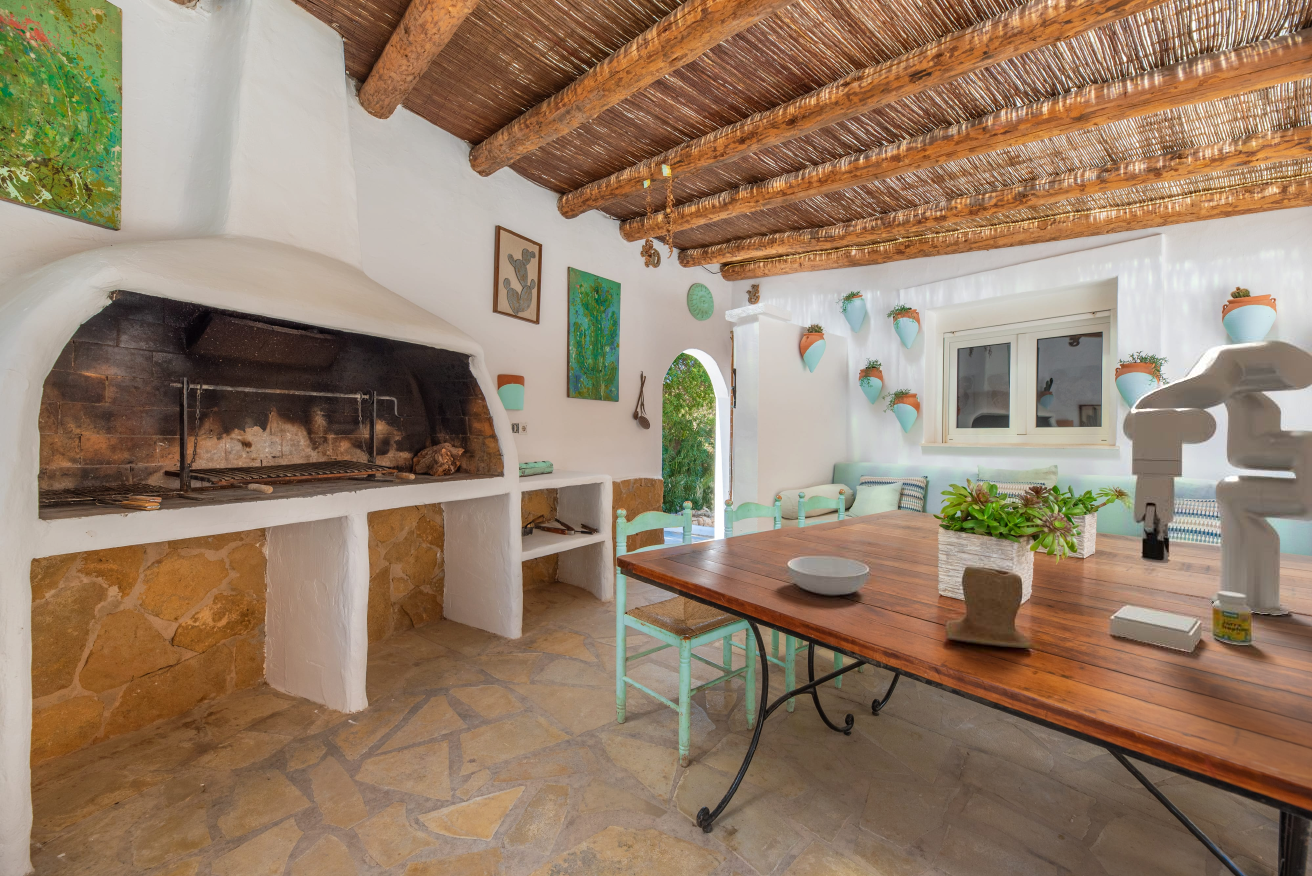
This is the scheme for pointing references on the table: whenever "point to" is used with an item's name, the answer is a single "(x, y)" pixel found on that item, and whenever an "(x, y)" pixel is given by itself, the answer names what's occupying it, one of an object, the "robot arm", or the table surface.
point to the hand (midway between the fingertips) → (1155, 556)
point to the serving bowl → (828, 574)
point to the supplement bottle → (1232, 618)
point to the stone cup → (989, 609)
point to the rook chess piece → (1164, 552)
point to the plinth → (1156, 627)
